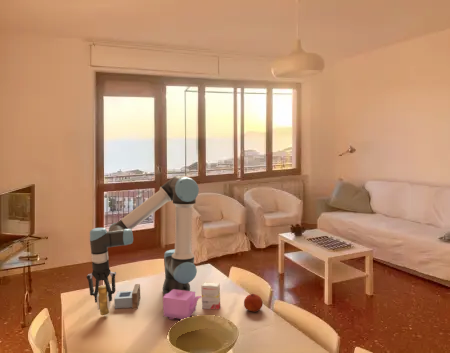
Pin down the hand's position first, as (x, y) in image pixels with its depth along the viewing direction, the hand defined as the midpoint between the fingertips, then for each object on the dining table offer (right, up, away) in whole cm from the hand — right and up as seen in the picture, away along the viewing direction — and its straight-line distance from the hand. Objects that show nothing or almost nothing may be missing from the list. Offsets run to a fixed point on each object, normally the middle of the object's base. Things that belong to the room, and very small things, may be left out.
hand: (104, 307), depth 178 cm
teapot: (+38, -4, -2) cm, 38 cm away
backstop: (+12, -2, +14) cm, 18 cm away
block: (+7, -3, +13) cm, 15 cm away
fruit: (+72, -2, +2) cm, 72 cm away
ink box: (+51, -2, +7) cm, 52 cm away
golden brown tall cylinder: (0, -3, 0) cm, 3 cm away
